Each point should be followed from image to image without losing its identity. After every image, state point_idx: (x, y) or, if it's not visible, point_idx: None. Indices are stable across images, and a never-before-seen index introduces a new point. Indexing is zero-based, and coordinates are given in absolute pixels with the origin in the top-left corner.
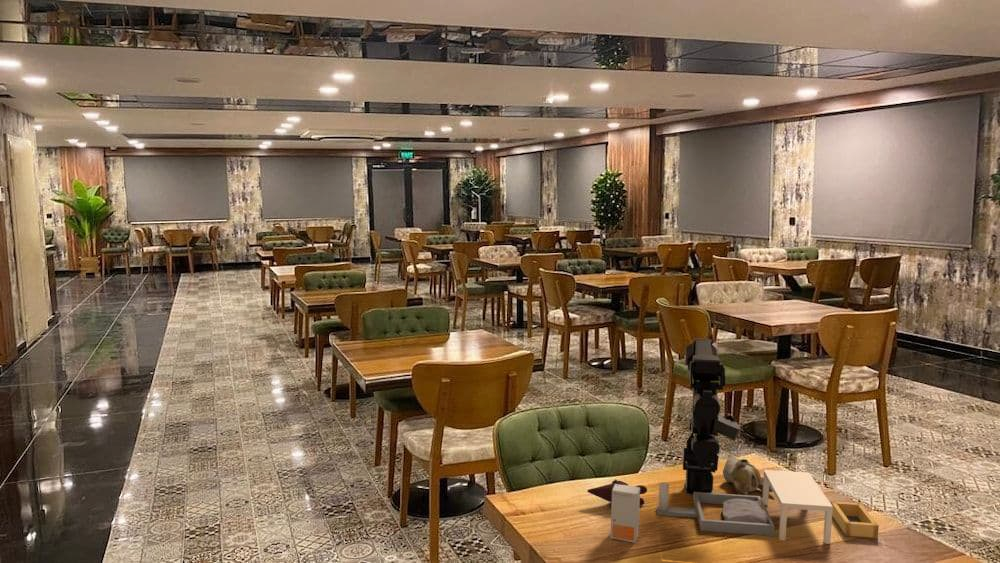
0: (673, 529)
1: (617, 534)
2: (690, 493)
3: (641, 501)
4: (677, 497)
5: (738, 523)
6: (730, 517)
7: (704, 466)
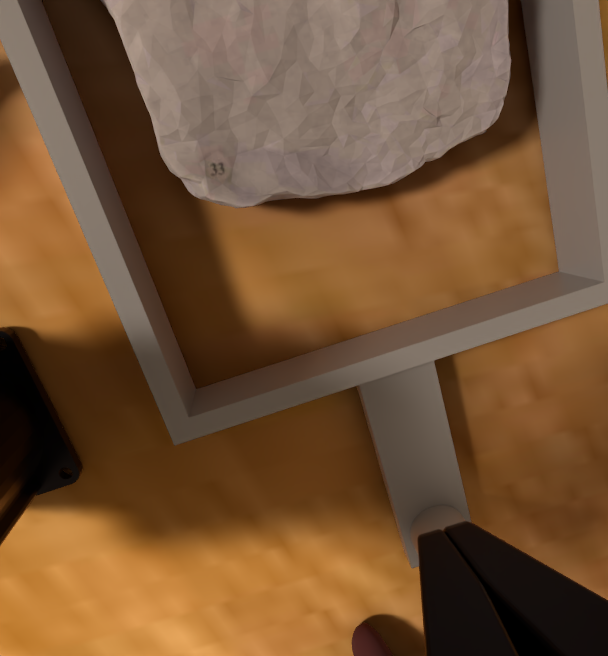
0: (587, 418)
1: None
2: (75, 455)
3: (384, 646)
4: (164, 505)
5: (599, 34)
6: (495, 113)
7: (492, 536)
